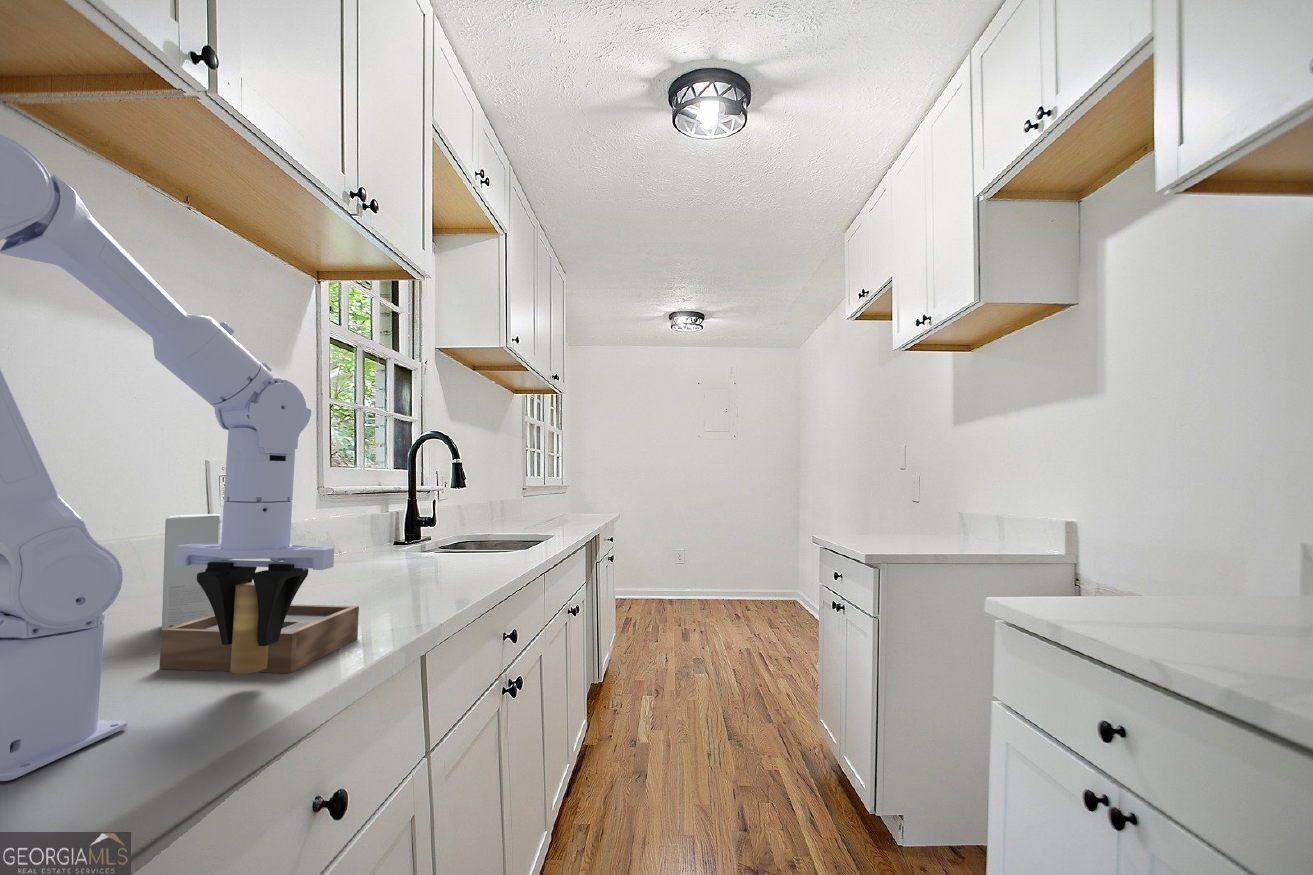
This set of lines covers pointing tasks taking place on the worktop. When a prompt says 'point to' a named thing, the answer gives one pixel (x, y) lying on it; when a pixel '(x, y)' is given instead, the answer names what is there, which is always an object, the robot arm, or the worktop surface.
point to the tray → (298, 645)
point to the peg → (246, 632)
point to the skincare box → (186, 568)
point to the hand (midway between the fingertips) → (250, 643)
